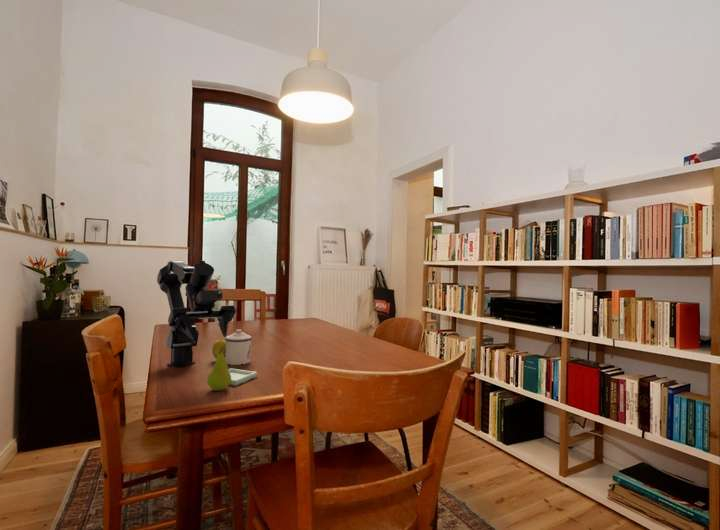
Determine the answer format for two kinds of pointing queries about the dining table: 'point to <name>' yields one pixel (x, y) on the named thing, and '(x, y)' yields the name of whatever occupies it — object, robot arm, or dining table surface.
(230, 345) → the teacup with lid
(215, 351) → the lemon
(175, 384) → the dining table surface
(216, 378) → the fruit
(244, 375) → the tray
